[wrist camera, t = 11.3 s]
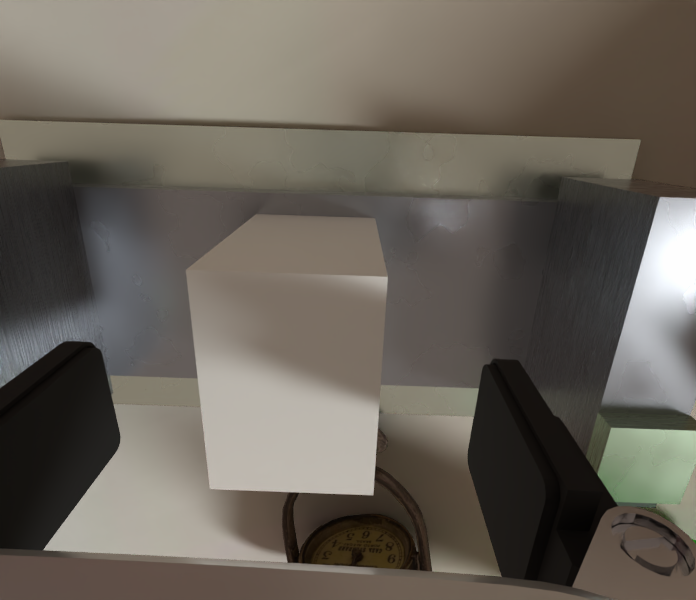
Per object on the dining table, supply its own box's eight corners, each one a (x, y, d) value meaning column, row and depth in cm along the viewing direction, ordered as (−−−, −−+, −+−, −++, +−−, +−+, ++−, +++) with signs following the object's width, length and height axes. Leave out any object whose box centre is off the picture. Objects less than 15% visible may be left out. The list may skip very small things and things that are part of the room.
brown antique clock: (229, 652, 23) (409, 731, 22) (250, 490, 18) (495, 582, 16) (281, 535, 30) (423, 590, 28) (308, 388, 24) (488, 448, 22)
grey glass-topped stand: (6, 120, 19) (-258, 109, 11) (632, 139, 18) (844, 143, 10) (71, 395, 24) (-75, 529, 16) (564, 413, 24) (671, 557, 15)
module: (255, 213, 18) (185, 270, 11) (375, 218, 18) (388, 276, 11) (262, 360, 21) (209, 488, 13) (367, 364, 21) (373, 495, 13)
